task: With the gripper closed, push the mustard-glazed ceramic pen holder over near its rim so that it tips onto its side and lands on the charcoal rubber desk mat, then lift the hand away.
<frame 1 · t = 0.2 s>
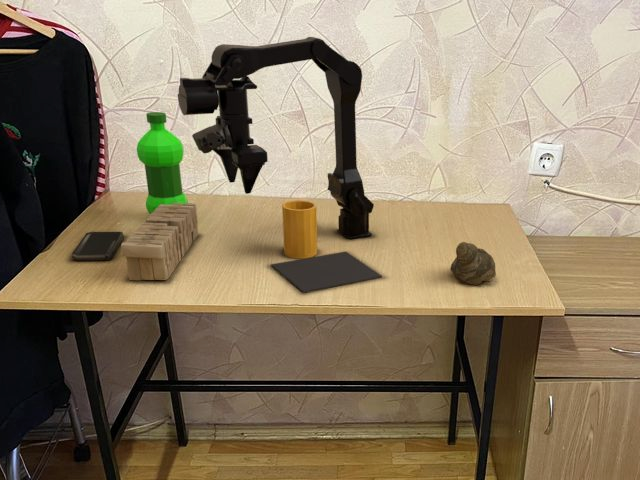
hand: (239, 187, 153), 14 cm above the table, tool pointing down, fingers open, 9 cm apart
phone: (99, 248, 157), on the table
pen holder: (300, 252, 161), on the table
mat: (326, 271, 152), on the table
seashell: (479, 278, 155), on the table
plastic bottle: (168, 219, 177), on the table
block tower: (165, 257, 155), on the table
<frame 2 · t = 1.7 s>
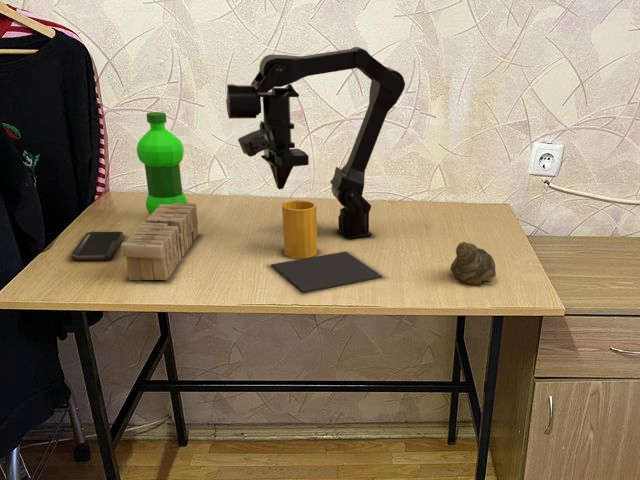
hand: (280, 188, 163), 12 cm above the table, tool pointing down, fingers closed
nothing on the table moved.
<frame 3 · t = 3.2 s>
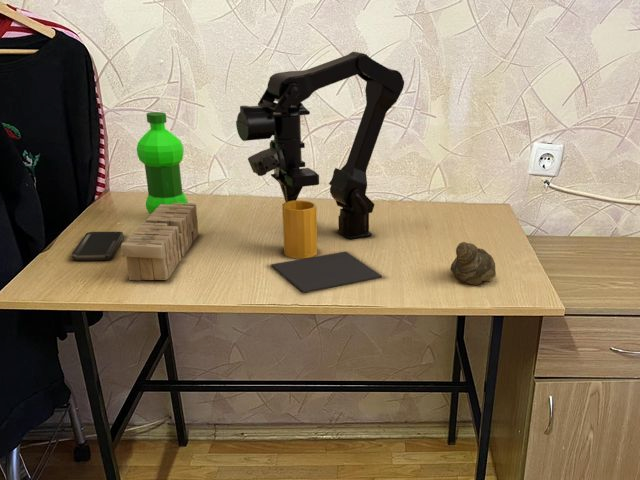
hand: (290, 207, 161), 9 cm above the table, tool pointing down, fingers closed
pen holder: (300, 252, 161), on the table, touching gripper
everything else where it was.
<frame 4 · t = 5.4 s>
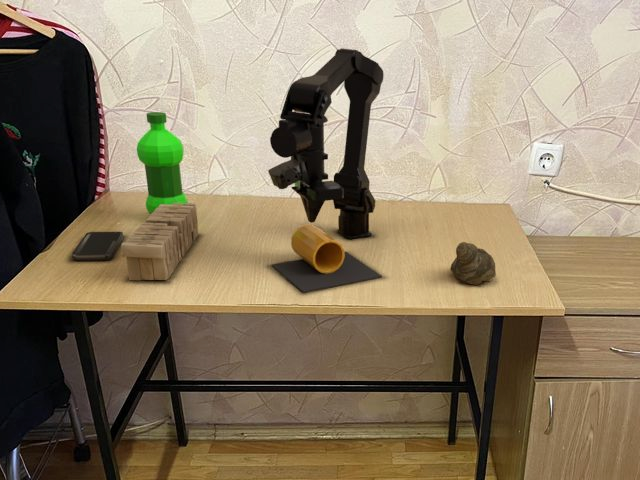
hand: (311, 221, 153), 9 cm above the table, tool pointing down, fingers closed
pen holder: (306, 240, 157), point 4 cm above the table, tilted 90°, touching mat
everything else where it was.
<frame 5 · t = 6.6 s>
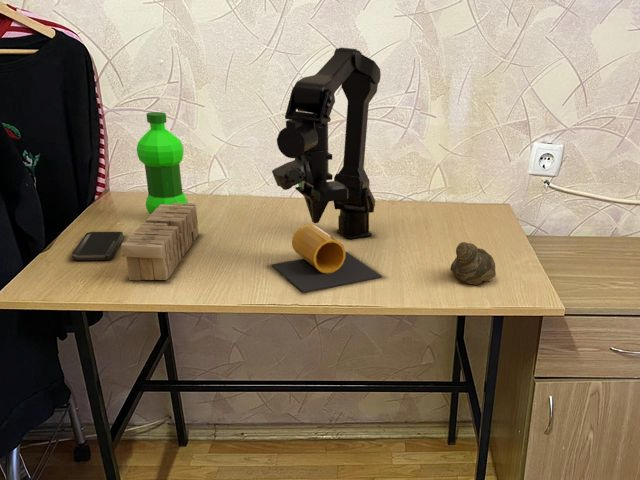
hand: (315, 222, 151), 9 cm above the table, tool pointing down, fingers closed
nothing on the table moved.
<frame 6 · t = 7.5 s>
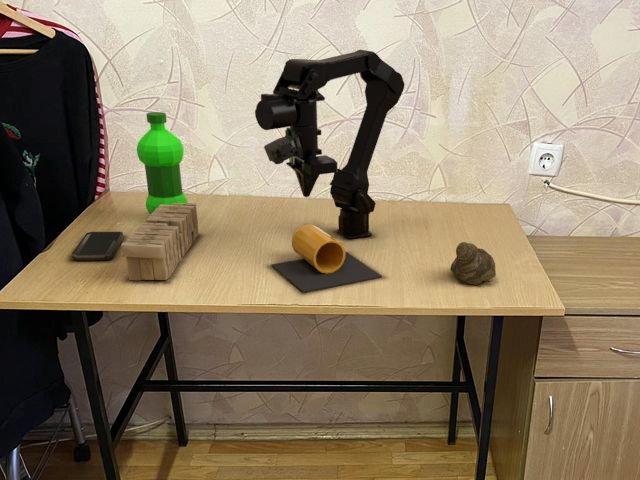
hand: (306, 196, 158), 12 cm above the table, tool pointing down, fingers closed
nothing on the table moved.
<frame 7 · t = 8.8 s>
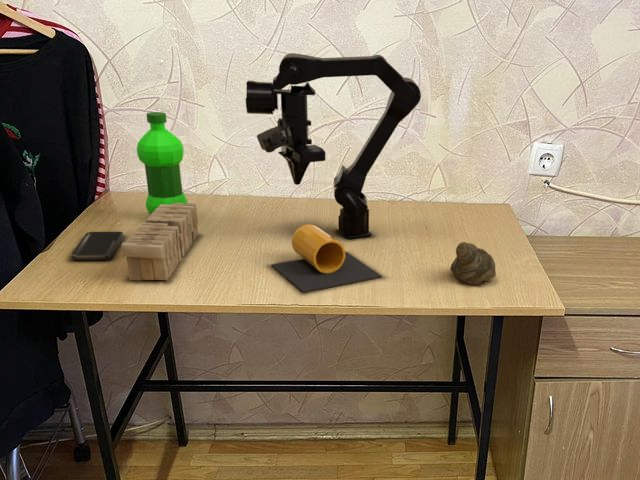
hand: (297, 184, 167), 12 cm above the table, tool pointing down, fingers closed
nothing on the table moved.
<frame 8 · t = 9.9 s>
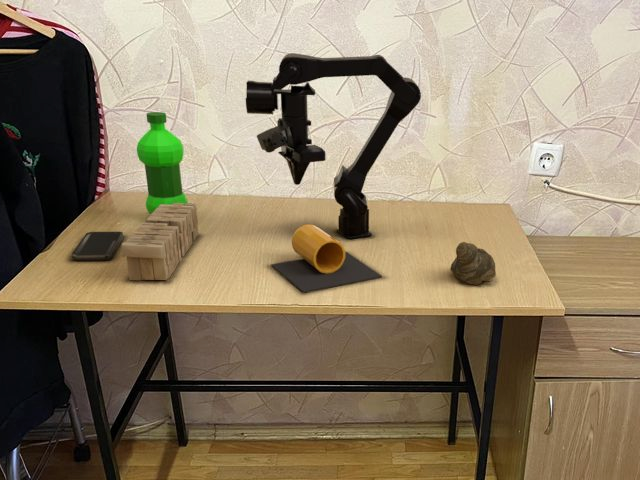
hand: (297, 184, 167), 12 cm above the table, tool pointing down, fingers closed
nothing on the table moved.
at the end: pen holder tilted 90°; pen holder touching mat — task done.
